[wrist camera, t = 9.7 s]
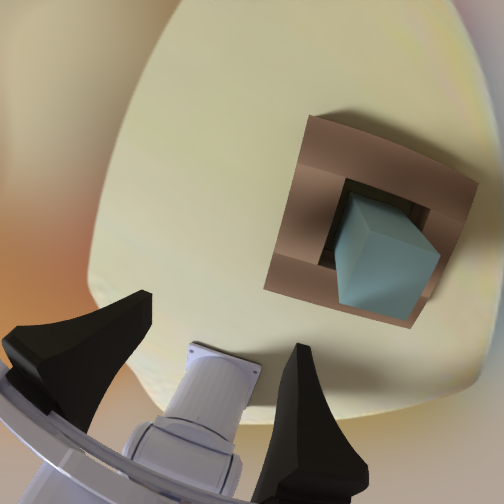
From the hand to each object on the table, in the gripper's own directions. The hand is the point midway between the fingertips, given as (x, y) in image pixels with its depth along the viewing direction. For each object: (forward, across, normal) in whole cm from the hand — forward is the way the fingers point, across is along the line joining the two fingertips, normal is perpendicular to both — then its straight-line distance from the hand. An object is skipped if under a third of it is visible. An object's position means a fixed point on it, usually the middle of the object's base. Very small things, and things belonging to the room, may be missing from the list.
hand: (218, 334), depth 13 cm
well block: (+10, -7, -4) cm, 13 cm away
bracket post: (+10, -7, -4) cm, 13 cm away
